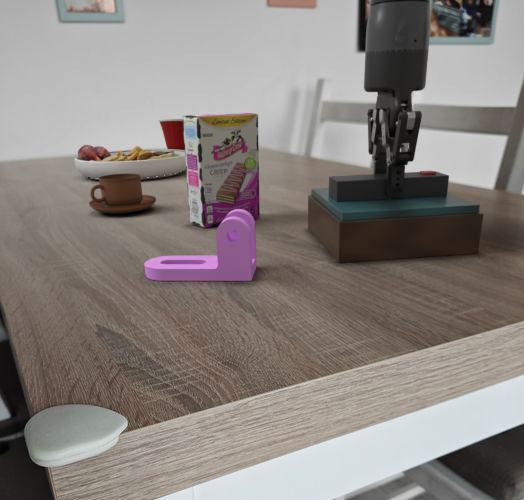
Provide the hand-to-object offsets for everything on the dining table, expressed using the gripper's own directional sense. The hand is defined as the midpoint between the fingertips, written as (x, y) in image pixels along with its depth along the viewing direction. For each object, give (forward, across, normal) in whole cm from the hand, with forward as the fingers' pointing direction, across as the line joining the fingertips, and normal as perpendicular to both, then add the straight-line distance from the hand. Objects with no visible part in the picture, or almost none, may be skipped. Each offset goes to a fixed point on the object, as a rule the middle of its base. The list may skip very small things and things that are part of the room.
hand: (387, 191), depth 74 cm
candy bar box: (+7, +18, +21) cm, 28 cm away
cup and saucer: (+7, +32, +39) cm, 51 cm away
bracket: (+7, -10, +26) cm, 29 cm away
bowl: (+7, +83, +41) cm, 93 cm away
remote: (+1, 0, 0) cm, 1 cm away
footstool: (+7, 0, 0) cm, 7 cm away
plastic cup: (+7, +120, +30) cm, 124 cm away
